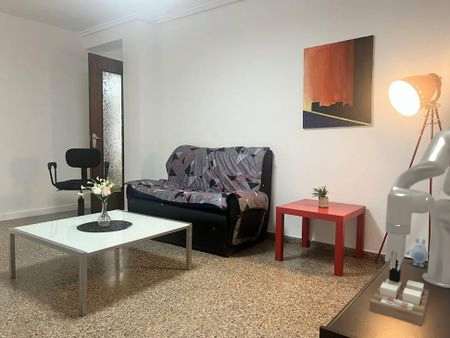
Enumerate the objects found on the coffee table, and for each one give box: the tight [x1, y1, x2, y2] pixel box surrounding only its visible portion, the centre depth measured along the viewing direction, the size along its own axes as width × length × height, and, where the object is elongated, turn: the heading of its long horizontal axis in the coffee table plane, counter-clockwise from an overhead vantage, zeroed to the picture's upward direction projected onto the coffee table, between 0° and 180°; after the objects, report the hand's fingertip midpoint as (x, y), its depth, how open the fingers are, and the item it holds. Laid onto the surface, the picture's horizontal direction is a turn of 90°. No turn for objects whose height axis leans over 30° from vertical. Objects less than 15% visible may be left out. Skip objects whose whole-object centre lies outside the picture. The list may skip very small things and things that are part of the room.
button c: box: [379, 282, 398, 299], centre depth 109 cm, size 5×5×3 cm
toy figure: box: [405, 237, 429, 268], centre depth 145 cm, size 11×6×12 cm, turn 56°
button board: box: [369, 278, 430, 327], centre depth 109 cm, size 22×14×4 cm, turn 145°
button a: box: [385, 278, 403, 291], centre depth 116 cm, size 5×5×3 cm
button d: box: [402, 288, 421, 306], centre depth 106 cm, size 5×5×3 cm
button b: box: [405, 279, 425, 296], centre depth 112 cm, size 5×5×3 cm
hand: (394, 280), depth 116 cm, fingers closed
